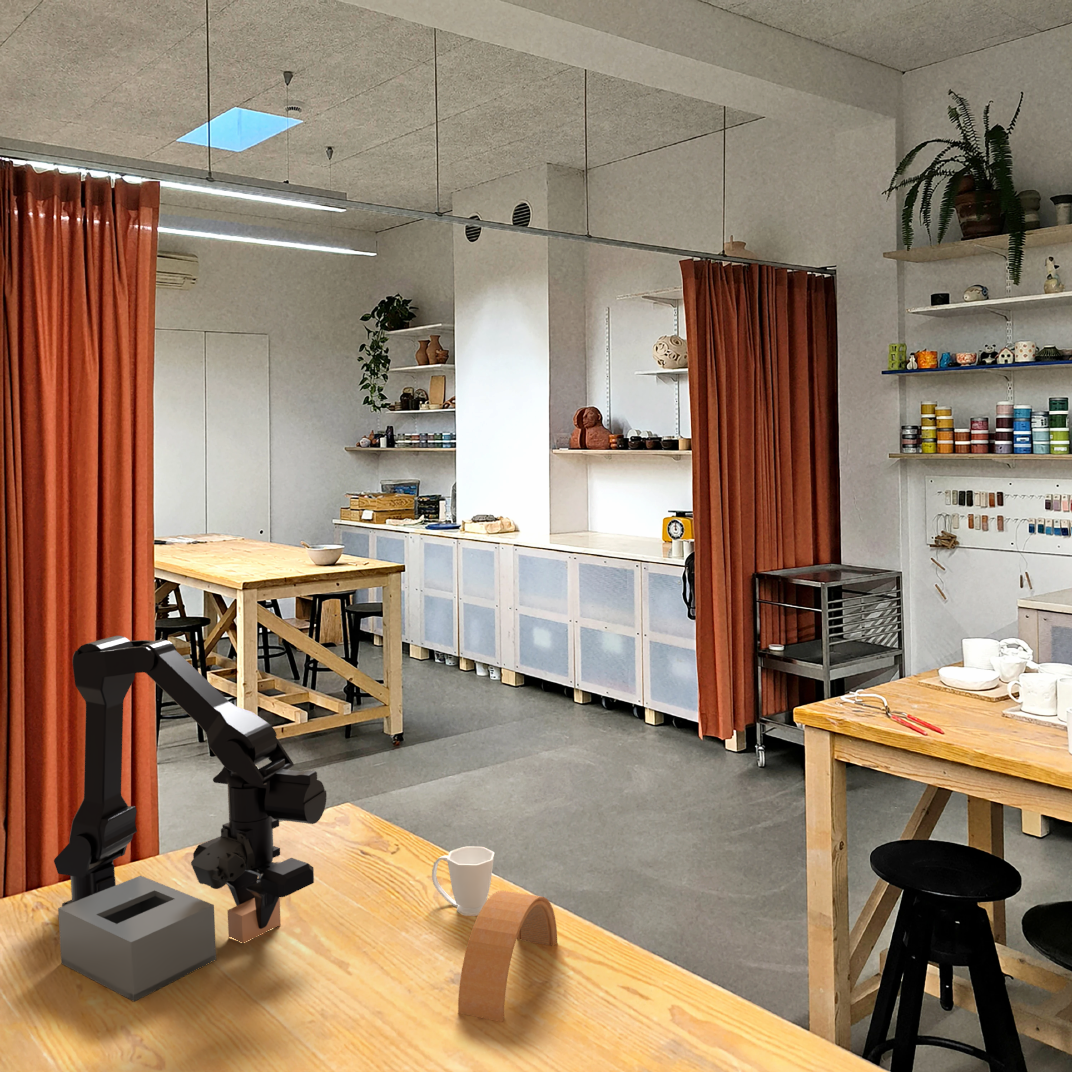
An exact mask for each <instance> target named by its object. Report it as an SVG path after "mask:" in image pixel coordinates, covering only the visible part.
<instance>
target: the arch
mask: <svg viewBox="0 0 1072 1072" xmlns="http://www.w3.org/2000/svg"><path fill="white" fill-rule="evenodd" d="M517 941H523V942H529V943H535V944H540V945H541V944H542V945H546V946H550V945H551V946H556V944H557V943H558V928H557V921H556V915H555V911H554V908H553V906H552V904H551V902H550V901H549V899H548V898H546V897H544V896H542V895H541V896H539V895H533V894H527V893H521V892H514V891H508V890H507V891H506V890H498V891H496V892H494V893H492V894H491V895H490V896H489V897H487V901H486V903H485V904H484V905H483V907H482V909H481V911H480V913H479V915H477V917H476V920H475V922H474V923H473V927H472V929H471V932H470V935H469V939H468V941H467V945H466V949H465V952H464V957H463V963H462V967H461V972H460V980H459V987H458V988H459V989H458V1000H457V1001H458V1002H457V1003H458V1004H457V1014H461V1015H466V1016H471V1017H472V1016H473V1017H477V1018H482V1019H485V1020H486V1019H487V1020H492V1021H497V1022H501V1023H502V1022H503V1021H504V1019H505V1002H506V991H507V983H508V975H509V971H510V965H511V962H512V957H513V954H514V949H515V945H516V942H517Z"/></svg>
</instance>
